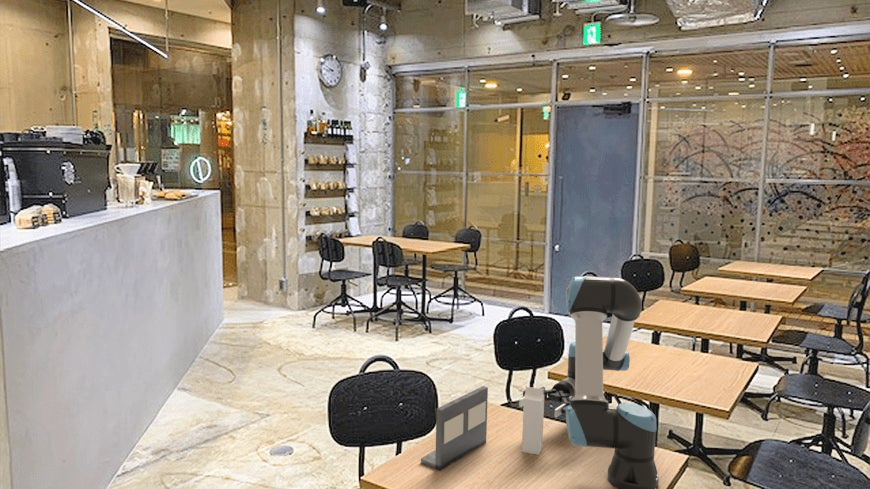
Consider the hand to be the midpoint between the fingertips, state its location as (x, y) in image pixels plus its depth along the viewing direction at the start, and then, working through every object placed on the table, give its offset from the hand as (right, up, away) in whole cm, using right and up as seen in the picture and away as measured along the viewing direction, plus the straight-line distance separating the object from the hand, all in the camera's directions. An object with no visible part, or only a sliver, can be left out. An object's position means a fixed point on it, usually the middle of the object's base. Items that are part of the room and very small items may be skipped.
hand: (537, 408), depth 214 cm
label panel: (-28, -14, -4) cm, 32 cm away
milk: (-2, -14, -1) cm, 14 cm away
